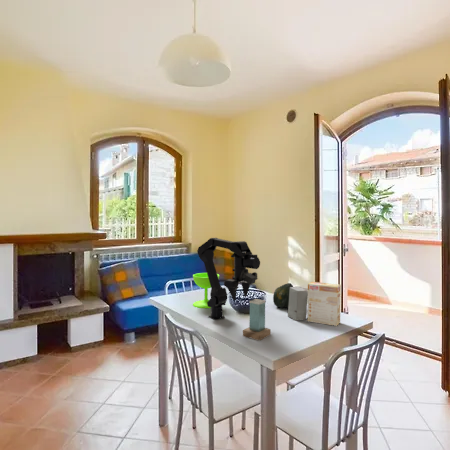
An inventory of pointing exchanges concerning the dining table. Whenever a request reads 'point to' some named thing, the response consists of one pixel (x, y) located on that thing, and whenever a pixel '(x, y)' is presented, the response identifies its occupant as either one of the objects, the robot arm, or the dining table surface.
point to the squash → (282, 295)
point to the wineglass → (202, 282)
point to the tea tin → (257, 315)
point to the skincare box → (297, 303)
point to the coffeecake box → (324, 303)
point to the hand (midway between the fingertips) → (240, 298)
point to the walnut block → (256, 333)
